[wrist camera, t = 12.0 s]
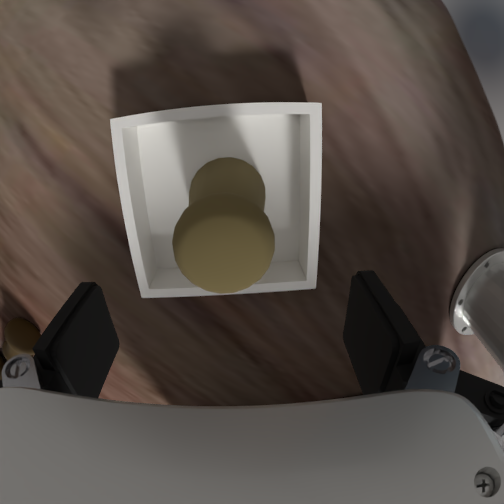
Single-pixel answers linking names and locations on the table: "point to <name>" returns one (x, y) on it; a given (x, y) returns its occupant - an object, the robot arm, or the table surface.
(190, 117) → the box
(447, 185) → the table surface
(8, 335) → the kendama
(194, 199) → the cork
